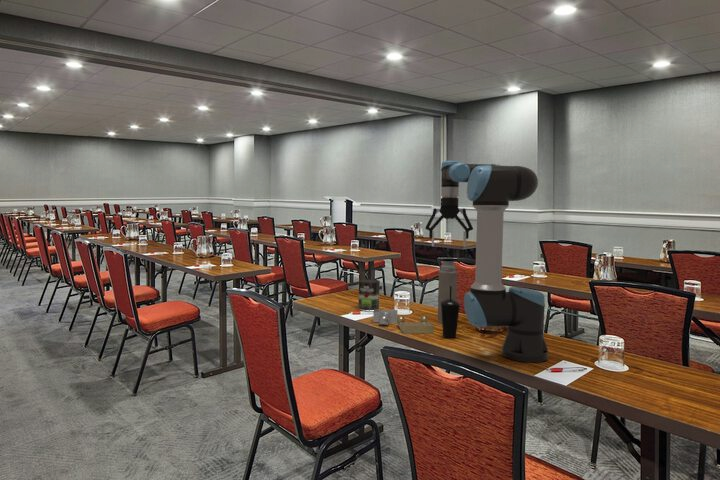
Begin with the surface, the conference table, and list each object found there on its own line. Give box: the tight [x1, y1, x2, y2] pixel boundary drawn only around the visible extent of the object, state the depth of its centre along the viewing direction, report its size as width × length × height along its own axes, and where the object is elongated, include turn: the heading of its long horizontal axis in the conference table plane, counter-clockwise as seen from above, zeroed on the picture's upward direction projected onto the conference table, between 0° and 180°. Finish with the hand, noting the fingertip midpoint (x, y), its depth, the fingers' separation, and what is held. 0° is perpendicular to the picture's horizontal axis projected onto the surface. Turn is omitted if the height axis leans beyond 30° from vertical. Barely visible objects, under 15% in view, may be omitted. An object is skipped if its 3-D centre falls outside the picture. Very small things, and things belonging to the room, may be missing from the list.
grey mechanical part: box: [372, 308, 398, 326], centre depth 212 cm, size 12×10×5 cm
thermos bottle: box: [437, 257, 458, 324], centre depth 216 cm, size 8×8×28 cm
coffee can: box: [357, 278, 381, 310], centre depth 239 cm, size 10×10×14 cm
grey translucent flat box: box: [396, 315, 435, 335], centre depth 203 cm, size 13×12×4 cm
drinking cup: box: [440, 286, 461, 340], centre depth 191 cm, size 8×8×20 cm
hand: (448, 246), depth 214 cm, fingers open, 13 cm apart
